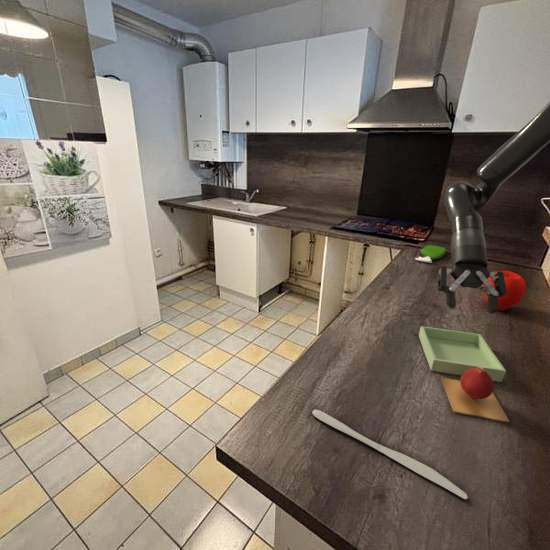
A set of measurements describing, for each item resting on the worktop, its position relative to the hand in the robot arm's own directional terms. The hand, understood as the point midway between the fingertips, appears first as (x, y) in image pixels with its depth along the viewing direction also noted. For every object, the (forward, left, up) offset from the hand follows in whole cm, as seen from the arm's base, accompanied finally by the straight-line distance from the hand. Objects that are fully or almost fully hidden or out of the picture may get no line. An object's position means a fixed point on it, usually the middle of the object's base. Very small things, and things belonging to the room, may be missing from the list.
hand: (472, 310), depth 69 cm
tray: (0, -1, -15) cm, 15 cm away
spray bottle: (-12, -86, -15) cm, 88 cm away
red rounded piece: (+1, +13, -14) cm, 20 cm away
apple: (-22, -34, -15) cm, 43 cm away
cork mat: (+1, +14, -15) cm, 20 cm away
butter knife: (+21, +31, -15) cm, 40 cm away
